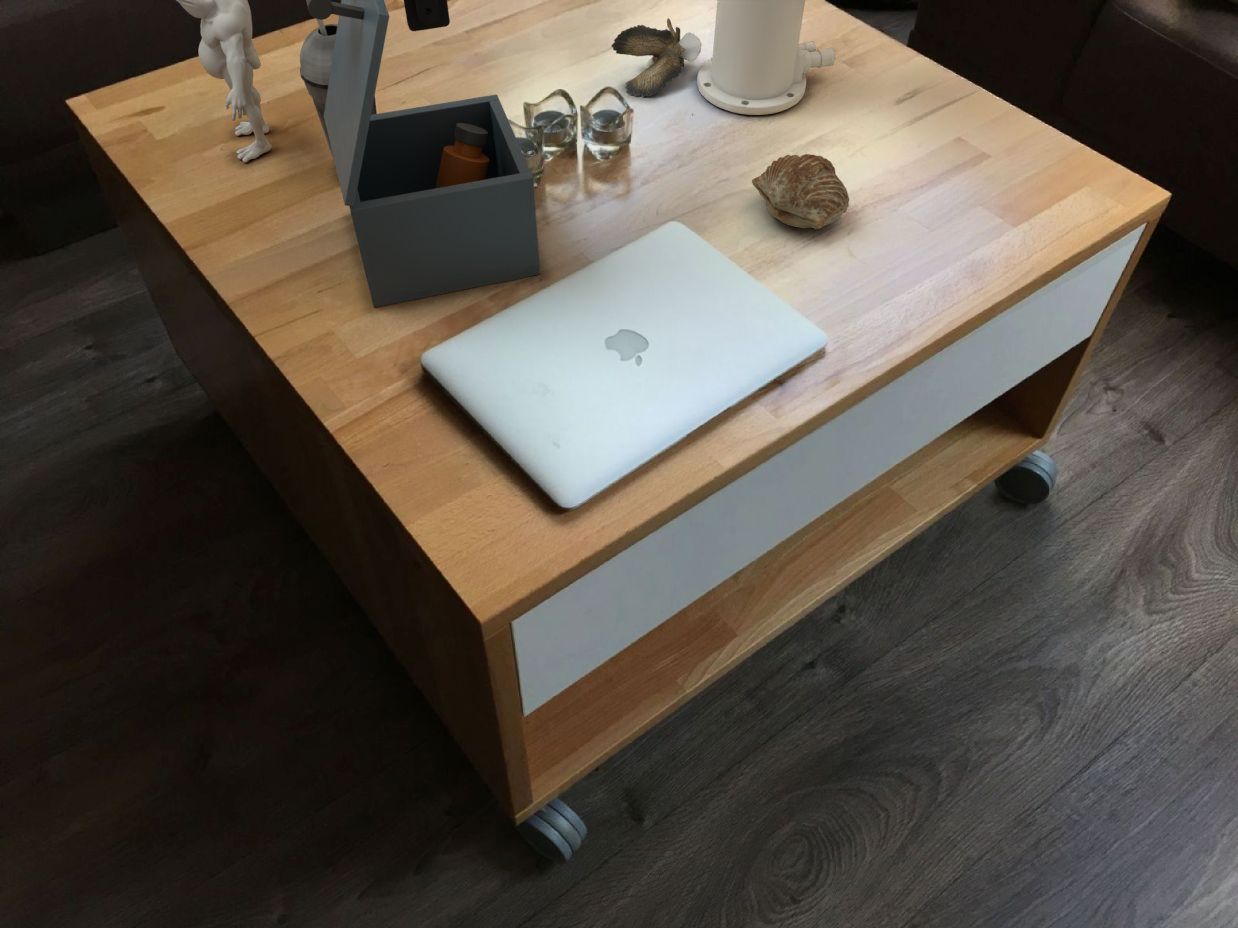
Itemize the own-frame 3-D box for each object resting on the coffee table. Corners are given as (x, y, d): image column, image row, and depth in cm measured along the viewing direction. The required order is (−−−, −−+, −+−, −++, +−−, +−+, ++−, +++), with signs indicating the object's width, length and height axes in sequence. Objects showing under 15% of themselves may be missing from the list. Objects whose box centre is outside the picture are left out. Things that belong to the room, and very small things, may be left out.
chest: (506, 190, 106) (496, 94, 98) (540, 274, 98) (533, 177, 89) (352, 218, 103) (328, 121, 95) (373, 307, 95) (350, 210, 86)
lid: (361, -66, 83) (298, -81, 81) (389, 15, 75) (320, 2, 73) (332, 117, 95) (276, 109, 92) (354, 207, 86) (292, 200, 84)
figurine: (220, 103, 116) (167, -59, 102) (280, 95, 117) (236, -67, 103) (225, 196, 105) (167, 29, 91) (292, 186, 107) (244, 19, 93)
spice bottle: (468, 222, 102) (489, 127, 98) (477, 238, 99) (500, 139, 94) (425, 214, 100) (444, 117, 96) (433, 230, 97) (453, 129, 92)
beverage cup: (381, 194, 106) (341, 5, 90) (314, 185, 107) (264, -3, 91) (404, 154, 110) (370, -32, 95) (340, 146, 111) (296, -40, 96)
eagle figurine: (650, 40, 123) (598, 54, 118) (683, 0, 118) (630, 13, 112) (683, 94, 123) (632, 110, 118) (717, 57, 118) (666, 72, 112)
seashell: (802, 259, 101) (855, 220, 104) (812, 204, 95) (868, 165, 98) (735, 211, 105) (788, 175, 108) (740, 156, 99) (796, 120, 102)
